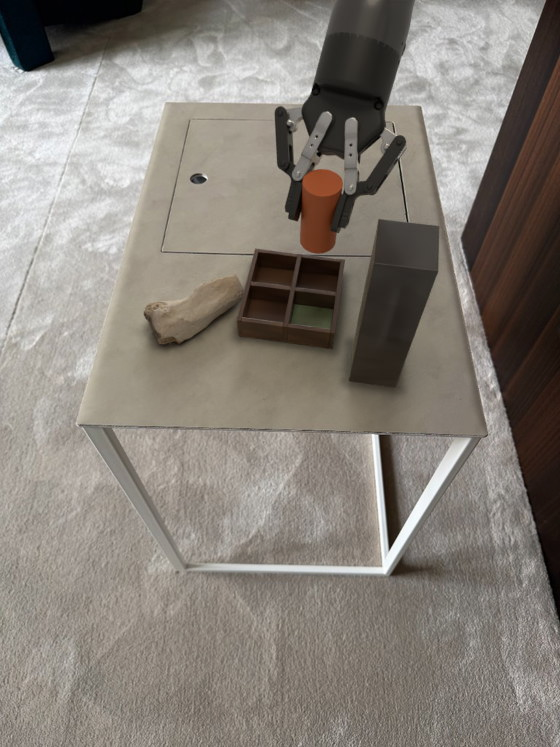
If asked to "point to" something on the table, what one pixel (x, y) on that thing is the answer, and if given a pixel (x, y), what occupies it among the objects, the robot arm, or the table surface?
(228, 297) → the bone fragment
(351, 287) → the table surface
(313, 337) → the grid
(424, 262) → the stand
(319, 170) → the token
